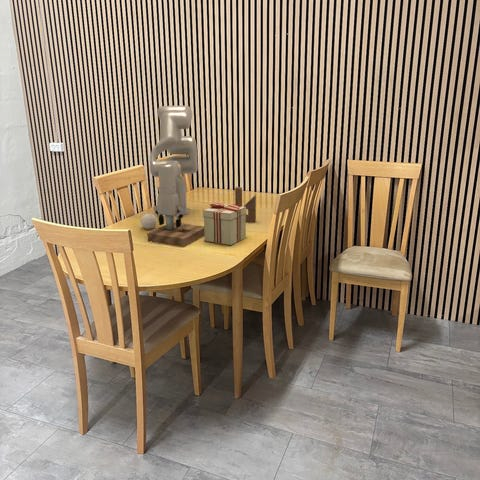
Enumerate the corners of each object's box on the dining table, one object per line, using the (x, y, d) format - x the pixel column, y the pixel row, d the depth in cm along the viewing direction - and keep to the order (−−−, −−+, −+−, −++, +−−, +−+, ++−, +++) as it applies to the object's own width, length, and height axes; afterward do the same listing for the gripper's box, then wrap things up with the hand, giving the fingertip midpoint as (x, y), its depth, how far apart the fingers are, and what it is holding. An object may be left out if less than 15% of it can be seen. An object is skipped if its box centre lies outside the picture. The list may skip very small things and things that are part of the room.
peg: (165, 237, 231) (163, 215, 228) (169, 235, 234) (168, 213, 231) (171, 238, 229) (170, 216, 226) (176, 236, 233) (174, 214, 229)
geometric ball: (145, 233, 247) (138, 219, 248) (159, 226, 248) (152, 212, 249) (144, 230, 239) (137, 216, 240) (159, 222, 241) (151, 208, 242)
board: (147, 241, 226) (147, 233, 225) (172, 229, 243) (171, 221, 242) (183, 247, 217) (183, 238, 216) (206, 234, 234) (206, 226, 233)
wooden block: (254, 222, 252) (254, 188, 246) (234, 221, 254) (233, 188, 248) (256, 221, 255) (255, 187, 250) (236, 219, 258) (235, 186, 252)
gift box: (249, 234, 233) (249, 199, 228) (233, 246, 217) (233, 209, 212) (218, 230, 240) (217, 196, 234) (200, 242, 224) (198, 205, 218)
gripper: (147, 190, 225) (150, 225, 231) (178, 193, 218) (180, 230, 223) (157, 187, 232) (159, 221, 237) (188, 190, 224) (189, 225, 229)
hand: (170, 225), depth 230 cm, fingers open, 9 cm apart
